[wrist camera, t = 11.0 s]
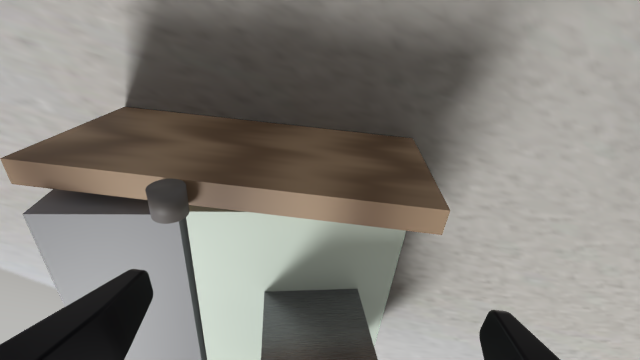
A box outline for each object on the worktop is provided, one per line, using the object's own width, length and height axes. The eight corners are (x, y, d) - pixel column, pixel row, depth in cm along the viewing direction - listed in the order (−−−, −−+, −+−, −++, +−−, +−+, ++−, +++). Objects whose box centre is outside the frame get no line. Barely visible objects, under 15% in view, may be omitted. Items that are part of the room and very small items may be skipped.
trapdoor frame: (167, 302, 28) (93, 421, 20) (124, 106, 20) (-38, 173, 11) (366, 328, 28) (374, 460, 20) (412, 138, 19) (461, 232, 11)
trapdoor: (134, 344, 23) (107, 407, 19) (76, 164, 16) (16, 210, 12) (350, 333, 25) (363, 387, 22) (384, 171, 18) (411, 212, 15)
